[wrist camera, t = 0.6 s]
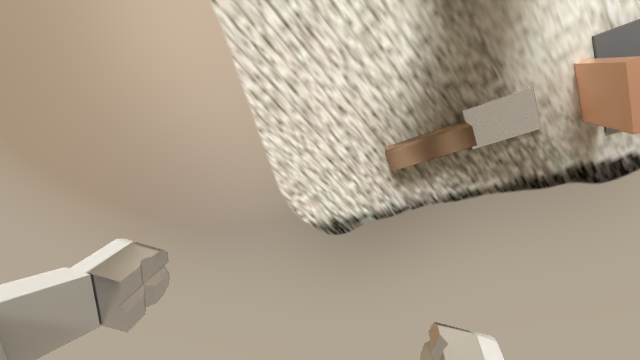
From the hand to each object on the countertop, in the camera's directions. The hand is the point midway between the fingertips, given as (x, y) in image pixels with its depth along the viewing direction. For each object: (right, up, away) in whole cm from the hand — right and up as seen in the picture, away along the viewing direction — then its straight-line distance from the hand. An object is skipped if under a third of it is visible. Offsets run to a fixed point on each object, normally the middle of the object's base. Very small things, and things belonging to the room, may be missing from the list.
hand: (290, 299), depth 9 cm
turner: (+21, +11, +36) cm, 43 cm away
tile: (+36, +15, +31) cm, 50 cm away
